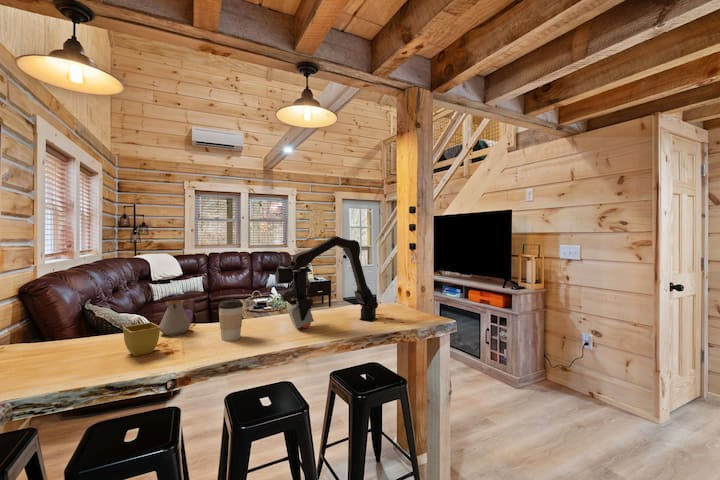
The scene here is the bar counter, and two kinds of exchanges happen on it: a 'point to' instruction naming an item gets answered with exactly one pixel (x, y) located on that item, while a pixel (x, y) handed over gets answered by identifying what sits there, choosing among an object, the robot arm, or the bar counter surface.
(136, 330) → the flower pot
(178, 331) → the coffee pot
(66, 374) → the bar counter surface
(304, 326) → the ball
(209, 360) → the bar counter surface
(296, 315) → the grey cube
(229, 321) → the coffee cup
